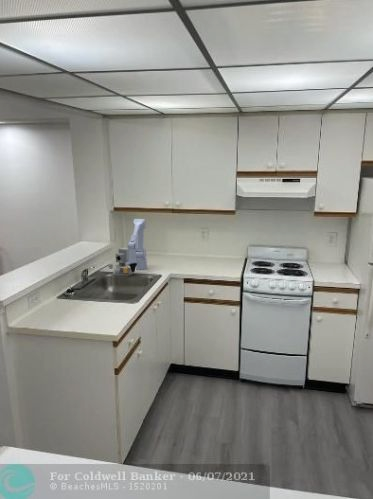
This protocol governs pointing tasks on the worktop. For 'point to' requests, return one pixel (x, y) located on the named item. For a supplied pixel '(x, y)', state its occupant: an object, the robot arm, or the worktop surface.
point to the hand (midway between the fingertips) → (133, 271)
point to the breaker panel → (121, 271)
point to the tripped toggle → (125, 269)
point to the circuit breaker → (122, 256)
